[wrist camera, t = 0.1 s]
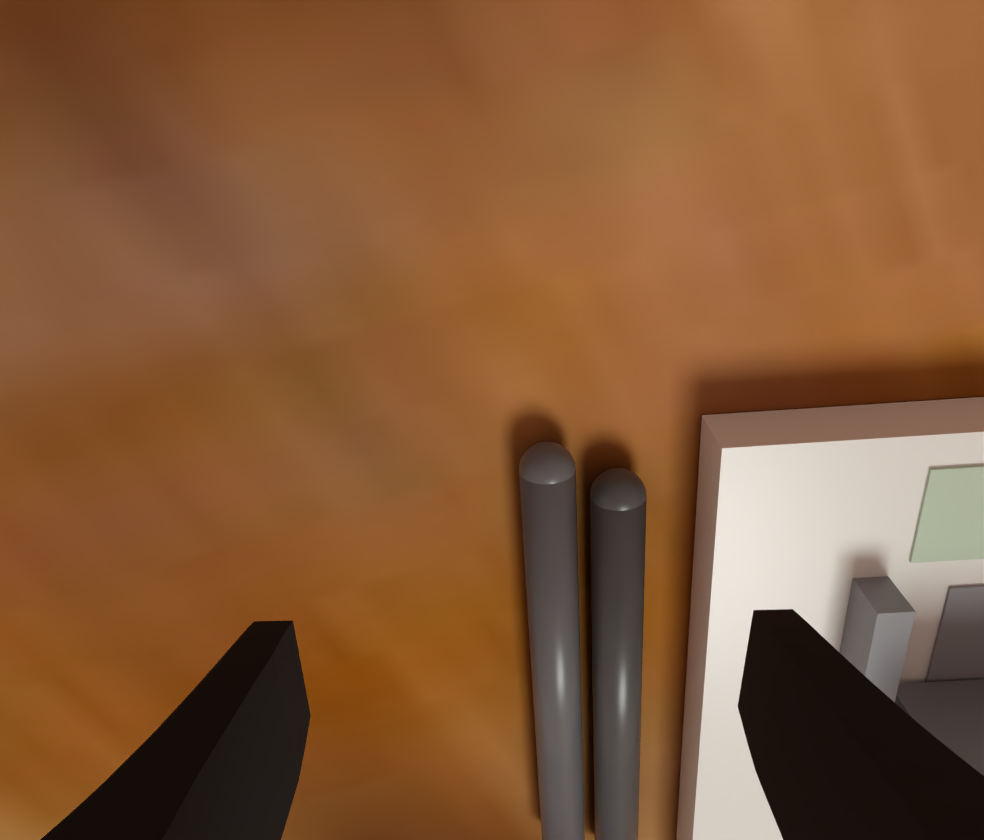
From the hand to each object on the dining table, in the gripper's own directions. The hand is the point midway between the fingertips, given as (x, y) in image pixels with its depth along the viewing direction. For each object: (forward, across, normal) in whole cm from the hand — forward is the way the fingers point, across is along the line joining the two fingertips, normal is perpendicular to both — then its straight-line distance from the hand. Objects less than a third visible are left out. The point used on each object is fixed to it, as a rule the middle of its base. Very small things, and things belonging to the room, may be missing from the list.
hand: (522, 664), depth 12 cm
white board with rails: (+10, -11, +10) cm, 18 cm away
